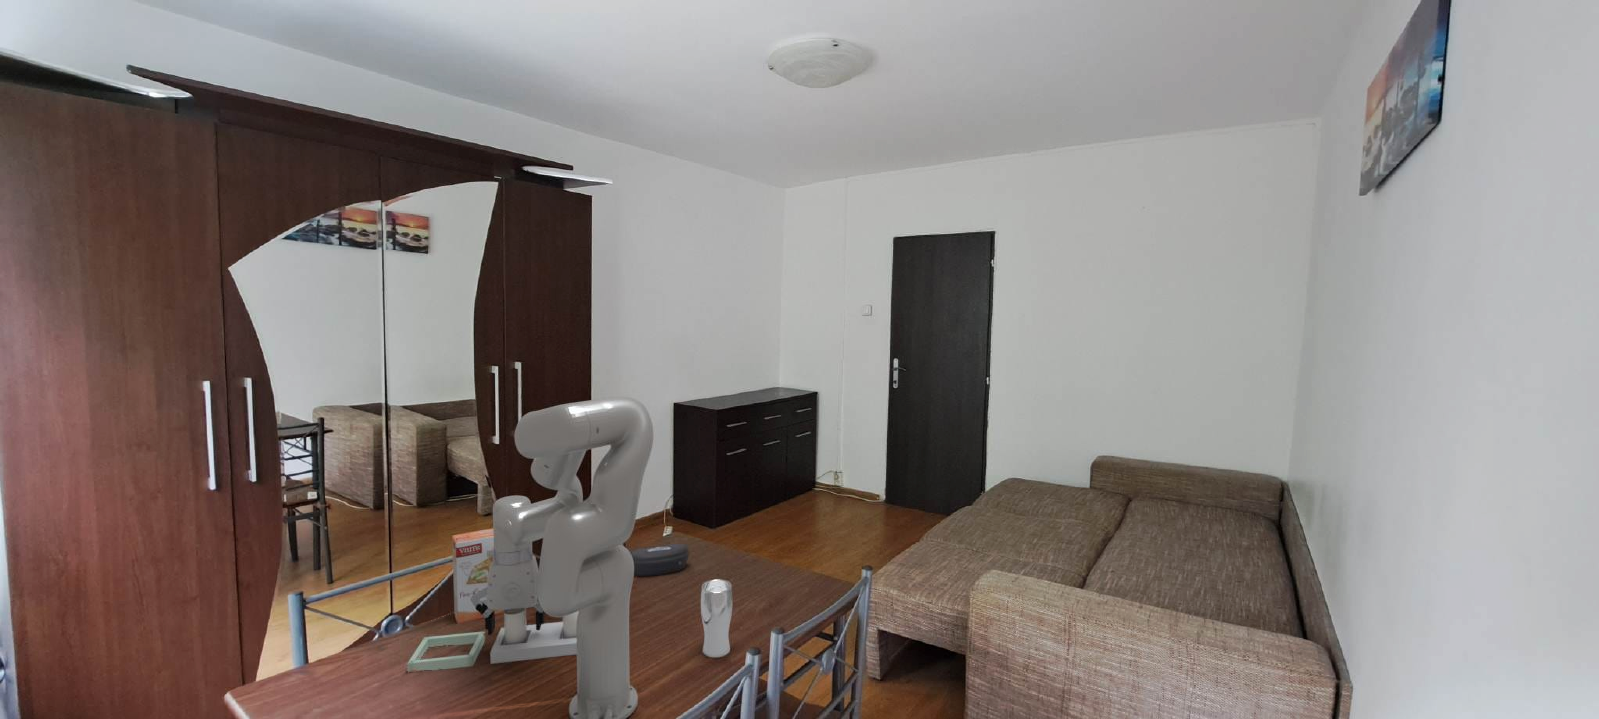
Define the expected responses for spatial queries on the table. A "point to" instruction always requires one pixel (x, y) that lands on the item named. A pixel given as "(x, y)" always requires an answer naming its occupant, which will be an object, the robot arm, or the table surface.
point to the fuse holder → (534, 644)
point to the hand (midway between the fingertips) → (515, 629)
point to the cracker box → (471, 571)
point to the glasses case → (660, 560)
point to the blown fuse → (515, 626)
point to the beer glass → (716, 617)
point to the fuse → (570, 625)
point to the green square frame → (447, 662)
